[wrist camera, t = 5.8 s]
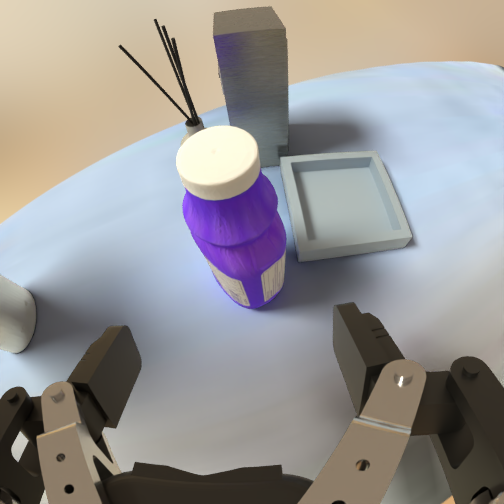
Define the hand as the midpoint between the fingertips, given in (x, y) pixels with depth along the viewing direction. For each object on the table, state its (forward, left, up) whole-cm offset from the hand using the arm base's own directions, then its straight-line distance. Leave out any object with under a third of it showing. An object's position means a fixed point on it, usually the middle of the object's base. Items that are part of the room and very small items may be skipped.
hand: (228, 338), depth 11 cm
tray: (+11, +15, -16) cm, 25 cm away
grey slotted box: (+3, +27, -16) cm, 31 cm away
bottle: (0, +8, -16) cm, 18 cm away
